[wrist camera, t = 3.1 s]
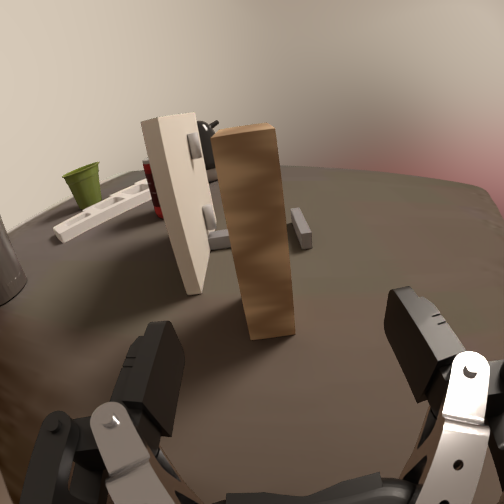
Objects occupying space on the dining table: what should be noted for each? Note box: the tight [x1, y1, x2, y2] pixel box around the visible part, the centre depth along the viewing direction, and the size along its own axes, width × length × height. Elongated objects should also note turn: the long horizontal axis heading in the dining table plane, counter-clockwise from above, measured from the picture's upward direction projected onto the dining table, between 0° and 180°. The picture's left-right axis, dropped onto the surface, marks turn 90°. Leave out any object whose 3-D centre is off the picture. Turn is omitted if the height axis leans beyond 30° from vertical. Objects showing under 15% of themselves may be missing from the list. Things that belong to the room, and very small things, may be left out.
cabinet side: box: [141, 112, 312, 295], centre depth 31 cm, size 14×18×17 cm
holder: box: [53, 179, 152, 243], centre depth 68 cm, size 45×18×3 cm, turn 140°
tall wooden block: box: [210, 123, 295, 340], centre depth 21 cm, size 4×6×15 cm, turn 1°
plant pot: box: [62, 162, 102, 210], centre depth 69 cm, size 12×12×11 cm
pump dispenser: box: [197, 120, 219, 182], centre depth 66 cm, size 10×10×15 cm
